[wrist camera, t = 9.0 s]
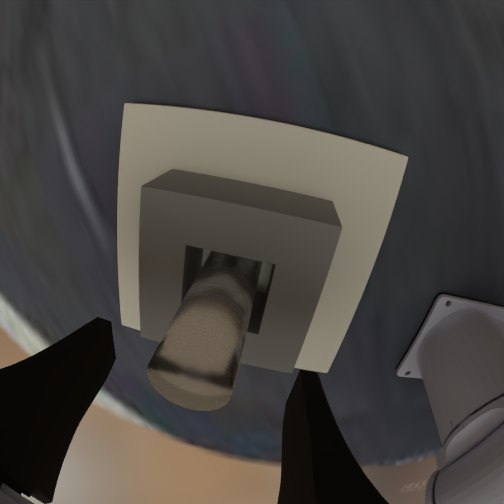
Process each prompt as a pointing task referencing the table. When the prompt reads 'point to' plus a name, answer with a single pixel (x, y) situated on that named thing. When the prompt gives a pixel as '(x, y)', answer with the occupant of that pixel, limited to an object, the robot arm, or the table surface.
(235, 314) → the steel pin
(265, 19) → the table surface
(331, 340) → the socket block on plate
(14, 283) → the table surface
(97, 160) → the table surface
